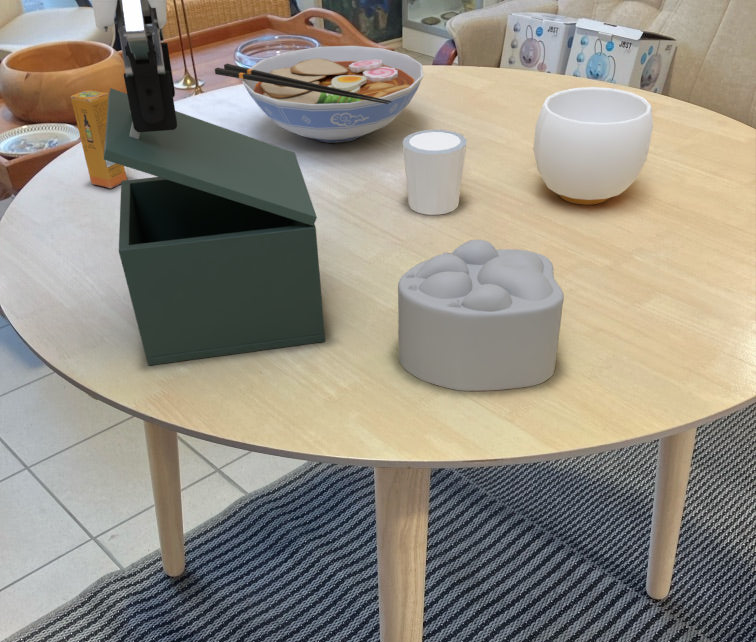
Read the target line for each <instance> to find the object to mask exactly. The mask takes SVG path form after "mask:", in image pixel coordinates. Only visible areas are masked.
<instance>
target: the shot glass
mask: <svg viewBox="0 0 756 642" xmlns="http://www.w3.org/2000/svg"><path fill="white" fill-rule="evenodd" d="M467 143H468V140H467V138H466V137H465V136H464V135H463V134H461V133H458V132H456V131H452V130H446V129H426V130H425V129H424V130H418V131H416V132H413V133H410V134H408V135H406V136H405V137H404V138H403V141H402V150H403V151H402V152H403V160H404V162H403V163H404V172H405V182H406V191H407V202H408V207H409V208H410V209H411V210H412V211H414V212H415V213H418V214H422V215H427V216H429V215H430V216H438V215H446V214H448V213H451V212H453V211H455V210H456V209H458V207H459V202H460V196H461V187H462V180H463V172H464V165H465V158H466V150H467Z"/></svg>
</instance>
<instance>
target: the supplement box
mask: <svg viewBox="0 0 756 642" xmlns="http://www.w3.org/2000/svg"><path fill="white" fill-rule="evenodd" d="M108 97H109V93H108V92H103V91H96V90H93V89H87V90H83V91H80V92H77V93H75V94H73V95H71V96H70V100H71V104H72V108H73V112H74V117H75V120H76V124H77V125H76V126H77V129H78V134H79V137H80V138H79V139H80V142H81V145H82V150H83V154H84V159H85V163H86V166H87V167H86V168H87V171H88V175H89V180H90V184H92V185H94V186H100V187H105V188H108V189H113V188H115V187H117V186H119V185H121V181H125V180H128V177H127V173H126V168H125V167H126V166H123V165H120V164H116V163H113V162H110V161H107V160H104V147H105V134H106V121H107V109H108Z"/></svg>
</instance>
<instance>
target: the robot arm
mask: <svg viewBox="0 0 756 642" xmlns="http://www.w3.org/2000/svg"><path fill="white" fill-rule="evenodd" d="M167 1H168V0H91V3H92V9H93V16H94V21H95V26H96V28H97V29H98V30H100V32H102V33H108V29H109V27H114V24H115V17H116V23H117V33H118V35H119V36H118V37H119V41H120V42H119V43H120V47H121V55H122V59H123V66H124V71H125V72H124V73H123V79H124V85H125V90H126V94H127V95H128V101H129V106H130V111H131V116H132V121H133V126H134V129H135V130H136V131H137V132H151V131H164V130H174V129H176V127H177V119H176V113H175V111H176V106H175V103H174V102H175V100H174V98H175V96H176V91H175V90H176V89H175V84H174V77H173V70H172V65H171V58H170V52H169V45H168V42H165V40H164V39H165V38H164V32H163V27H165V25H166V24H167V22H168V14H167V13H168V12H167V11H168V9H167V8H168V7H167V5H168V3H167Z"/></svg>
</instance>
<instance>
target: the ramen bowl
mask: <svg viewBox="0 0 756 642" xmlns="http://www.w3.org/2000/svg"><path fill="white" fill-rule="evenodd" d="M423 68H424V67H423V64H422V63H421V62H420V61H417V60H416V59H415V58H413V57H411V55H408V54H405V53H402V52H399V51H395V50H391V49H387V48H383V47H372V46H363V45H334V46H333V45H330V46H329V45H328V46H316V47H309V48H303V49H302V48H301V49H297V50H290V51H286V52H283V53H280V54H277V55H273V56H271V57H266V58H263V59H261V60H260V61H259V62H257V63H255V64H254V65H252V66H251V67H243V66H240V65H235V64H231V63H225V64H223V68H222V67H216V68H214V74H215V75H217V76H224V77H229V78H235V79H242V81H241V82H242V84H243V86H244V88H245V89H246V91H247V93H248V94H249V96H250V97H251V99H252V100H253V101H254V102H255V103H256V105H257V106H258V107H259V109H261V110H262V112H263V113H264V114H265V115H266V116H267V117H268V118H269V119H270V120H271V121H272V122H273V123H274V124H275V125H277V126H278V127H280V128H282V129H284V130H285V131H287V132H290V133H293V134H295V135H298V136H301V137H305V138H309V139H312V140H315V141H319V142H323V143H328V144H335V143H336V144H337V143H338V144H339V143H347V142H352V141H354V140H357V139H359V138H361V137H363V136H364V135H367V134H371V133H373V132H375V131H378V130H380V129H383V128H385V127H386V126H388V125H389V124H390V123H392V122H393V121H394V120H395V119H396V118H397V117H398V116H400V114H401V113H402V112H404V109H406V107H407V106H408V105H409V104H410V102H411V101H412V99H413V97H414V96H415V94H416V93H417V91H418V89H419V87H420V85H421V82H422V80H423V78H424V69H423Z"/></svg>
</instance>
